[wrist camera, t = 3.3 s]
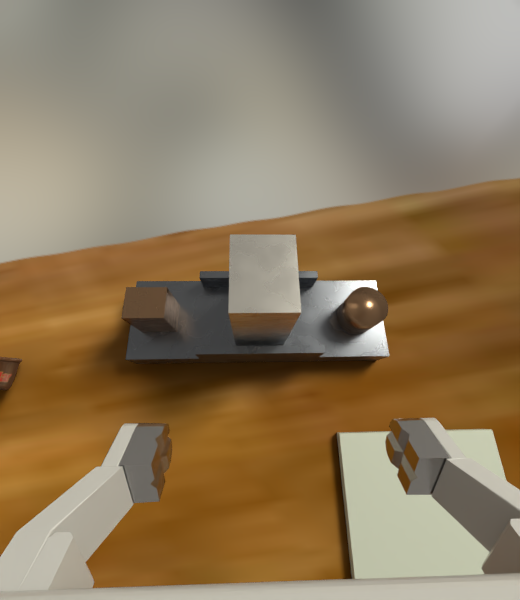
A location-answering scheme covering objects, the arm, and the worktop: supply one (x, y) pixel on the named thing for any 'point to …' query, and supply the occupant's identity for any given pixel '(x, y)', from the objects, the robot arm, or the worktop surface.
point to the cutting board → (405, 512)
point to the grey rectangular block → (263, 289)
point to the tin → (8, 371)
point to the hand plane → (218, 332)
